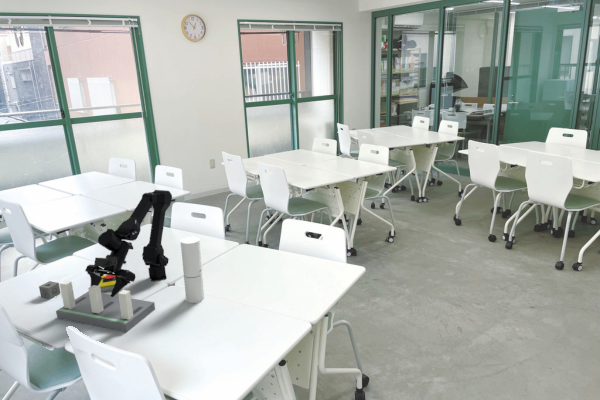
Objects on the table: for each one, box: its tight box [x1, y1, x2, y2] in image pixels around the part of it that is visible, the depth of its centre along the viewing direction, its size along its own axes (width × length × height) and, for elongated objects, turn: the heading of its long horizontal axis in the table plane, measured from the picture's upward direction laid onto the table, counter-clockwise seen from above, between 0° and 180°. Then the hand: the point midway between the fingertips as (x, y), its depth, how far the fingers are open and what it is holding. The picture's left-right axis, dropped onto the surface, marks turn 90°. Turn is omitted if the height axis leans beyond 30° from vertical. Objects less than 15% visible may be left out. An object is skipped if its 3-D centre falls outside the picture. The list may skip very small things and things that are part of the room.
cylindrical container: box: [180, 236, 205, 304], centre depth 170 cm, size 7×7×25 cm
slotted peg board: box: [55, 280, 156, 333], centre depth 162 cm, size 16×31×13 cm, turn 72°
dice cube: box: [38, 280, 61, 300], centre depth 177 cm, size 5×5×5 cm
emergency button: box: [98, 274, 124, 295], centre depth 185 cm, size 9×4×15 cm
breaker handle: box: [87, 285, 104, 314], centre depth 158 cm, size 2×3×10 cm
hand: (101, 295), depth 160 cm, fingers open, 9 cm apart
